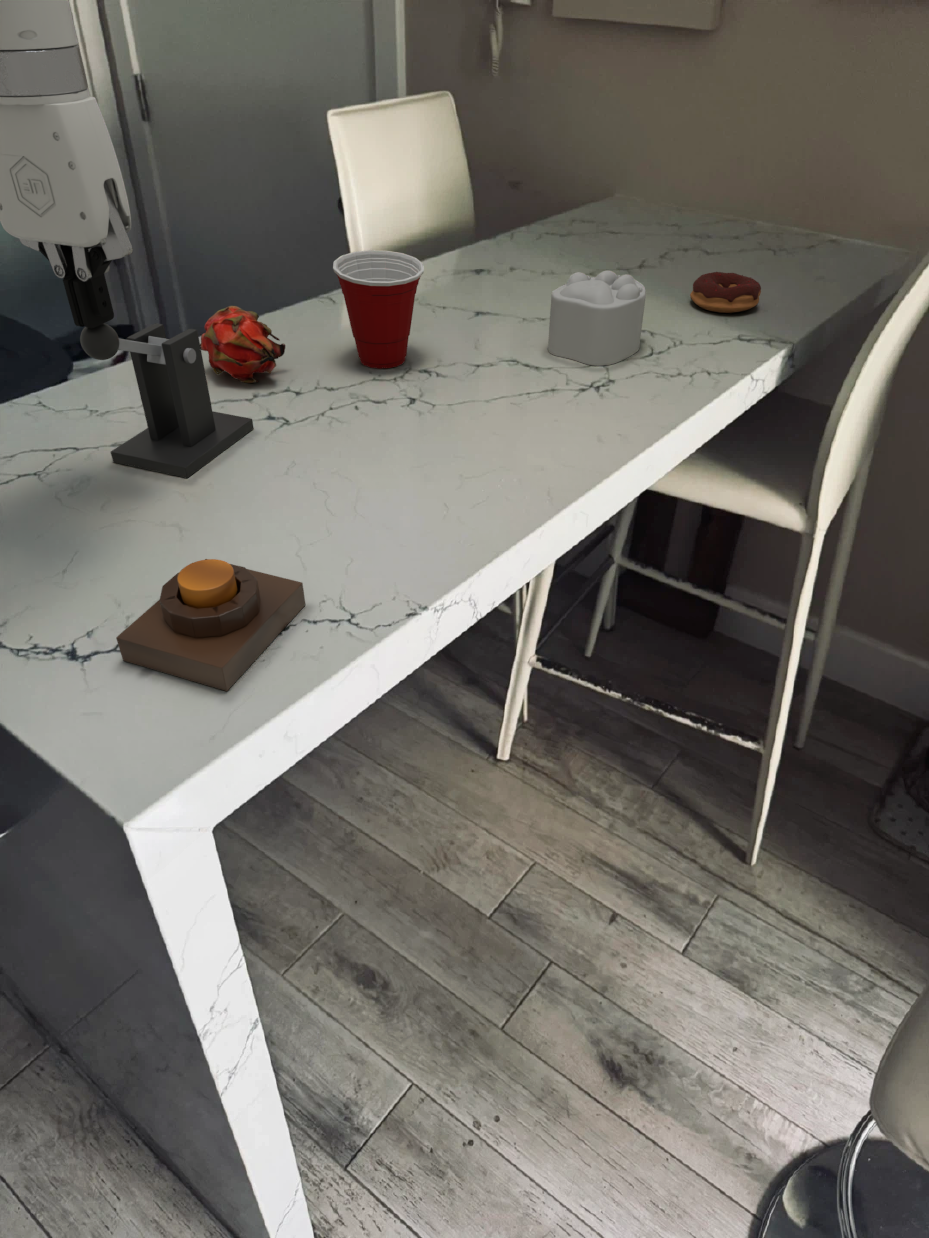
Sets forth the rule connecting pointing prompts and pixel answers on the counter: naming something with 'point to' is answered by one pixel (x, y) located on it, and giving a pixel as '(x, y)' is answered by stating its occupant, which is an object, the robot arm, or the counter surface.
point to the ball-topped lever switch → (118, 344)
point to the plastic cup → (379, 302)
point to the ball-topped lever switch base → (177, 410)
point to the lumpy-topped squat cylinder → (596, 318)
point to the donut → (725, 292)
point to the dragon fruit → (240, 344)
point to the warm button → (207, 583)
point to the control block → (212, 629)
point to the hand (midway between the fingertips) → (95, 322)
